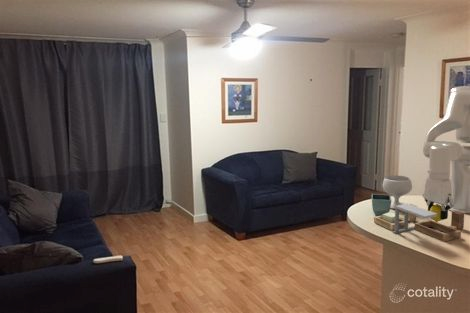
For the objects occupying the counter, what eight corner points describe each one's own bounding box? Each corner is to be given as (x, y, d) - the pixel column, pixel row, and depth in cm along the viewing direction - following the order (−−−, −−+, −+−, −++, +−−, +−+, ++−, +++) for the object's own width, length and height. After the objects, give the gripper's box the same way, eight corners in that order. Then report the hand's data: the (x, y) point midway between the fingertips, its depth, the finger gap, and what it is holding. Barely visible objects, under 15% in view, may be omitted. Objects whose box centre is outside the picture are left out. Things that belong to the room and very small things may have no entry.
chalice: (402, 201, 204) (403, 174, 201) (416, 209, 190) (418, 180, 187) (377, 203, 203) (377, 175, 200) (389, 211, 189) (390, 182, 187)
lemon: (439, 219, 163) (440, 201, 161) (446, 224, 157) (447, 205, 156) (426, 220, 163) (427, 202, 161) (433, 225, 157) (434, 206, 156)
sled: (403, 215, 182) (404, 201, 181) (422, 223, 172) (423, 208, 171) (374, 222, 176) (374, 207, 174) (391, 230, 166) (392, 215, 164)
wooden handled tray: (444, 221, 172) (445, 207, 171) (476, 233, 159) (477, 217, 157) (414, 229, 166) (415, 213, 164) (444, 241, 152) (445, 224, 151)
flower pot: (391, 218, 180) (391, 200, 179) (371, 217, 183) (371, 199, 182) (390, 212, 189) (390, 194, 187) (371, 211, 191) (371, 193, 190)
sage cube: (389, 222, 176) (389, 212, 175) (398, 225, 171) (399, 214, 171) (382, 224, 173) (382, 214, 172) (391, 228, 169) (392, 217, 168)
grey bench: (430, 223, 171) (431, 198, 169) (461, 235, 158) (463, 207, 155) (392, 233, 163) (393, 206, 161) (421, 245, 150) (422, 216, 147)
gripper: (415, 172, 162) (414, 212, 166) (451, 181, 147) (449, 225, 151) (428, 169, 165) (427, 208, 169) (465, 178, 149) (462, 221, 153)
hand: (437, 216), depth 160 cm, fingers closed on lemon, 5 cm apart
